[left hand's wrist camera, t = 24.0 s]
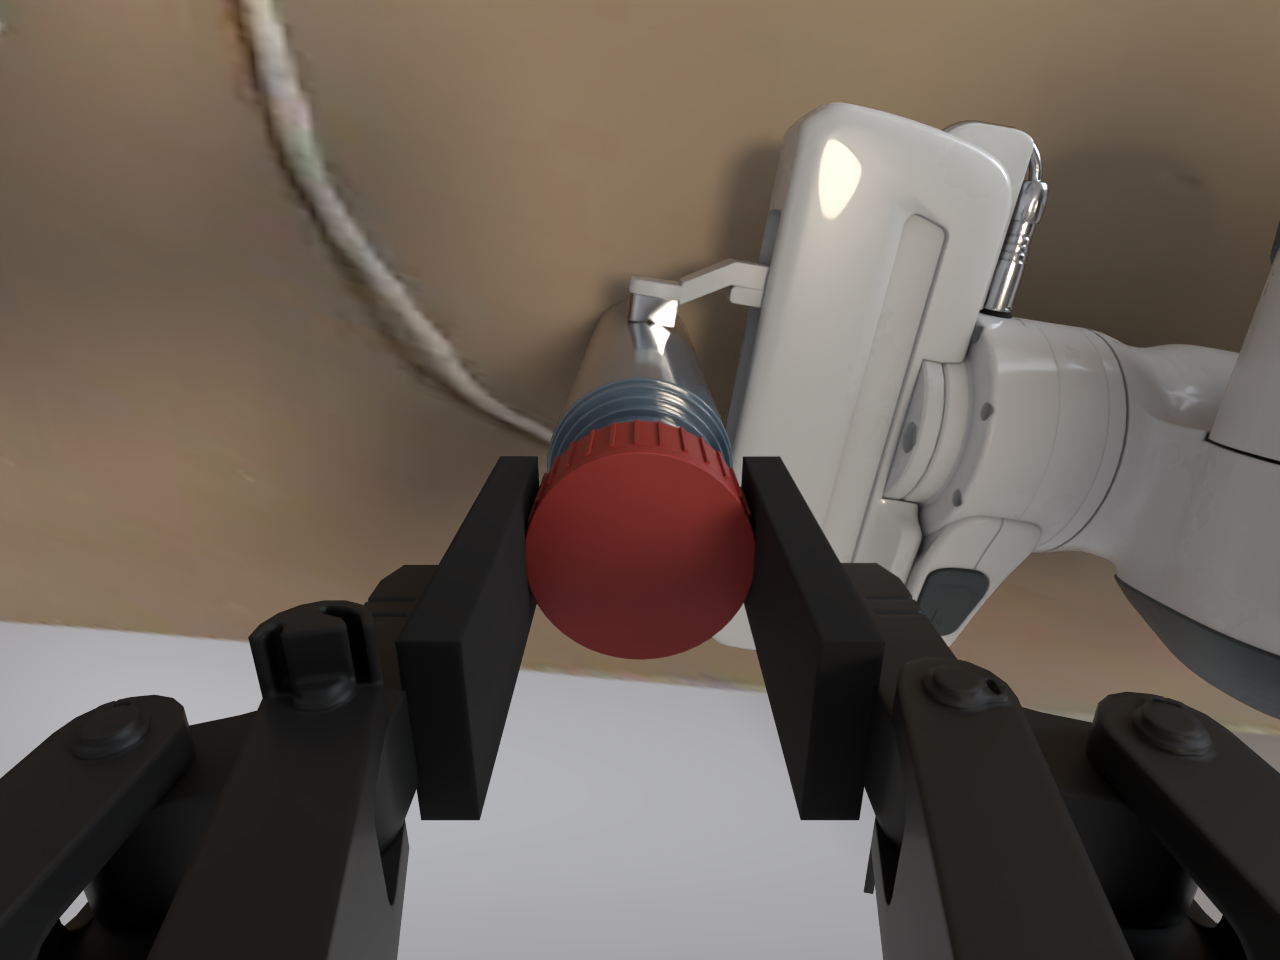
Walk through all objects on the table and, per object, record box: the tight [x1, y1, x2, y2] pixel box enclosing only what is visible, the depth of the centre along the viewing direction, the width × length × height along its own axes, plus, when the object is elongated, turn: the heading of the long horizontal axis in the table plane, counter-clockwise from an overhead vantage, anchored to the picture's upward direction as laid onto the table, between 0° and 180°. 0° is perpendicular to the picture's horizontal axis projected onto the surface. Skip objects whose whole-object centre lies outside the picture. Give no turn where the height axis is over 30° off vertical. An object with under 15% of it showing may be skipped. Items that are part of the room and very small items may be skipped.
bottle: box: [547, 299, 733, 473], centre depth 23 cm, size 5×5×21 cm
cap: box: [525, 419, 755, 659], centre depth 14 cm, size 4×4×2 cm
